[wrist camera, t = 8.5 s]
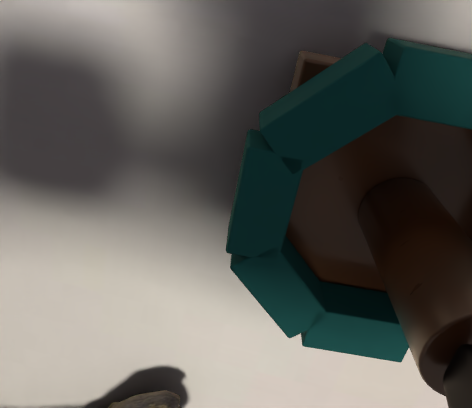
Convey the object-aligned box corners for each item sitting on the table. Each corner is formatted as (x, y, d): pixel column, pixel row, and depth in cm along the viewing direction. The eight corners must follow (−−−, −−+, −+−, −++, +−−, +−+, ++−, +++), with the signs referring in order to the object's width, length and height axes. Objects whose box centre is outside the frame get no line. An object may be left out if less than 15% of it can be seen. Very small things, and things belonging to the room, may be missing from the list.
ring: (213, 299, 16) (209, 331, 14) (270, 13, 11) (272, 19, 10) (470, 343, 16) (490, 378, 15) (621, 83, 12) (671, 99, 10)
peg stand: (248, 264, 17) (242, 453, 10) (299, 49, 13) (341, 126, 7) (449, 299, 17) (569, 503, 11) (554, 99, 14) (839, 220, 7)
